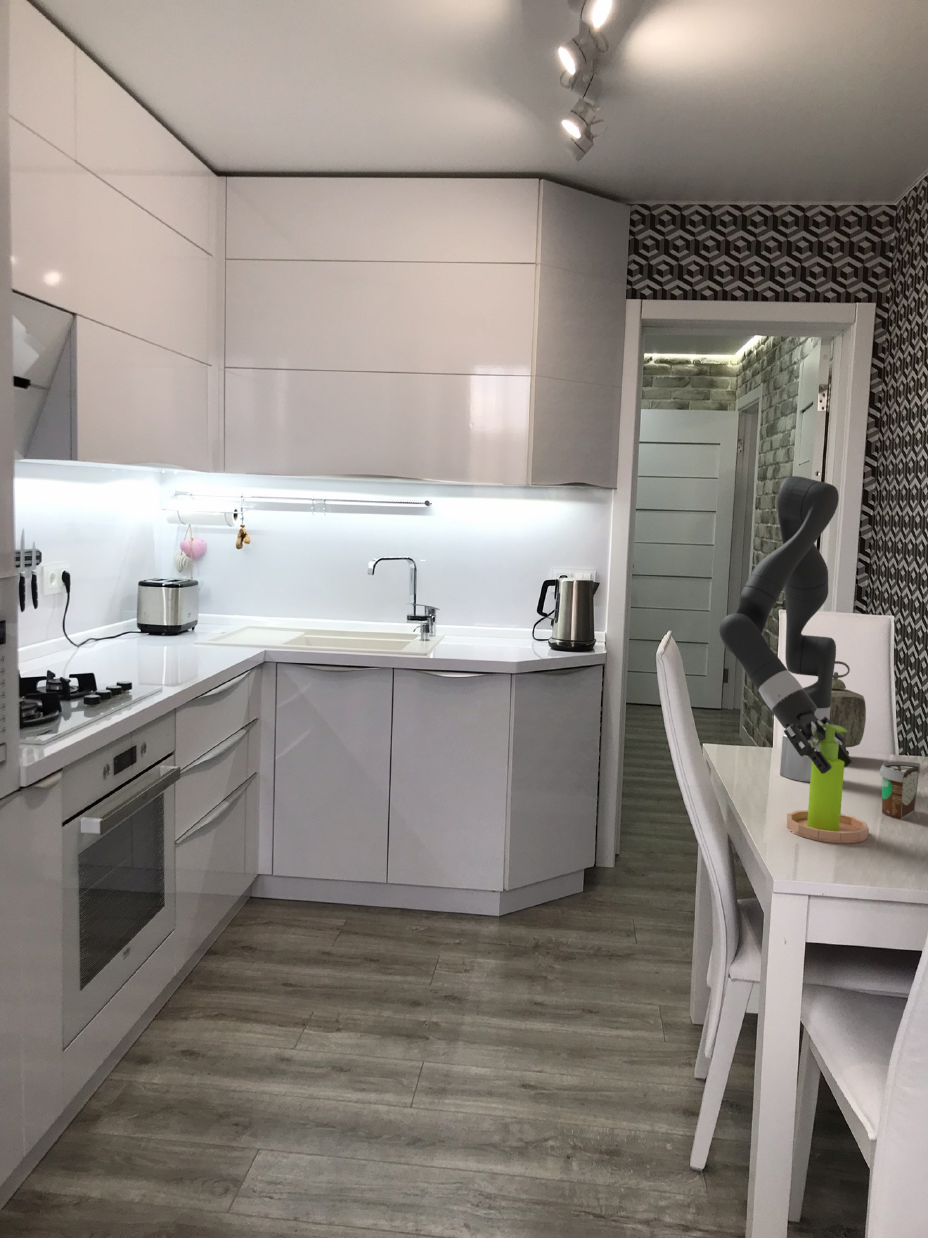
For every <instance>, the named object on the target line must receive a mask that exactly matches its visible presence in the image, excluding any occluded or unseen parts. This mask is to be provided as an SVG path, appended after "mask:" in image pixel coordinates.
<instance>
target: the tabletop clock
mask: <svg viewBox="0 0 928 1238" xmlns="http://www.w3.org/2000/svg"><path fill="white" fill-rule="evenodd" d="M838 664H839V665H842V666H845V668H847V672H845V673H843V674H839V673H838V671H834V673H833V681H832V692H831V706H830V720H829V721H830V722H831V723H832V724H833V725H838V726H841V727H843V728H844V729H846V730H847V733H840V734H841V736H842V737H843V738H844V742H842V745H841V746H842V747H843V749H844V750H845V751H846V753H847V754H848V755H849V756H850V751H849V750H847V748H853V747H856V746H859V745H860V744H861V742H862V740H863V737H864V733H865V727H866V723H867V721H866V720H867V719H866V718H867V717H866V716H867V715H866V713H867V712H866V711H867V707H866V700H865V698H864V695H862V694H860V693H858V692H855V691H852V690H850V689H847V687H846V684H845V682H844V681H843V680H841V679H842V678H845V677H847V676H848V675H849V673H850V670H851V669H850V666H849V665H848V664H847V663H846V662H844V661H840V660H835V665H838ZM840 678H841V679H840ZM835 737H836V736H835ZM836 738H837V737H836Z"/></svg>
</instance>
